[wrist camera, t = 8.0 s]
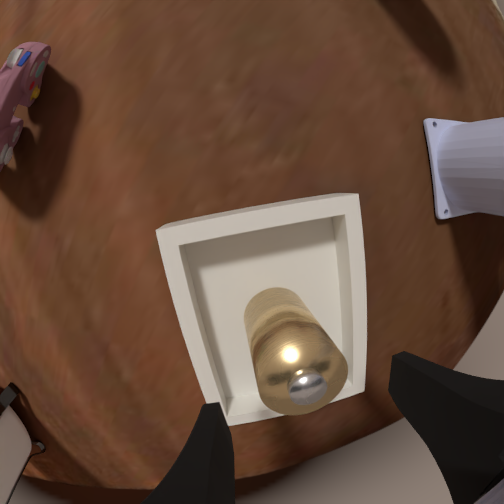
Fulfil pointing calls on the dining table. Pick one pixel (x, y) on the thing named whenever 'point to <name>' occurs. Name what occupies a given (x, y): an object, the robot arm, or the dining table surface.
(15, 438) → the coffee press
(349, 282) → the tray
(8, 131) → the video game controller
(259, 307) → the battery cell
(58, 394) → the dining table surface
